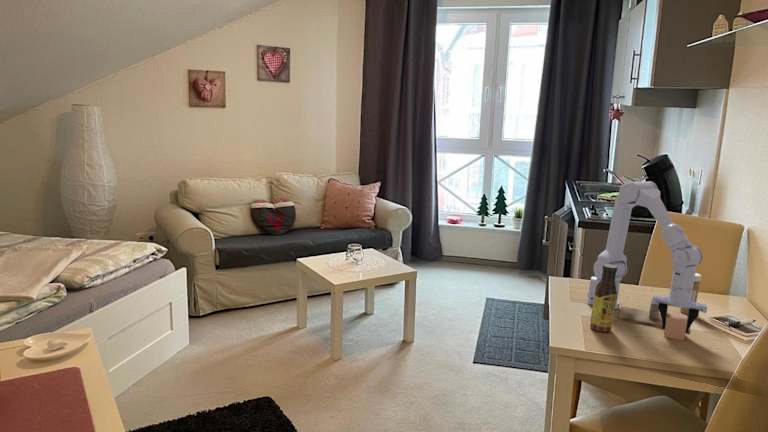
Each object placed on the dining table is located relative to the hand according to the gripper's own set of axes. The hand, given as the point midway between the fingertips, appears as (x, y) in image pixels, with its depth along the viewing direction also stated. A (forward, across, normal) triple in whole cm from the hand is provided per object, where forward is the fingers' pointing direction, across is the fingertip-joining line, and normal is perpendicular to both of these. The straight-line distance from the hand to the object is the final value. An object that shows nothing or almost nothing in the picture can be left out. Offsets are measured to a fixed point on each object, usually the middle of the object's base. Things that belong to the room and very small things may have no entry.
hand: (674, 330), depth 176 cm
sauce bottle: (+2, -20, -7) cm, 21 cm away
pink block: (+2, 0, 0) cm, 2 cm away
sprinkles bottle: (+2, +4, +24) cm, 24 cm away
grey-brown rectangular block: (+2, -6, +10) cm, 12 cm away
